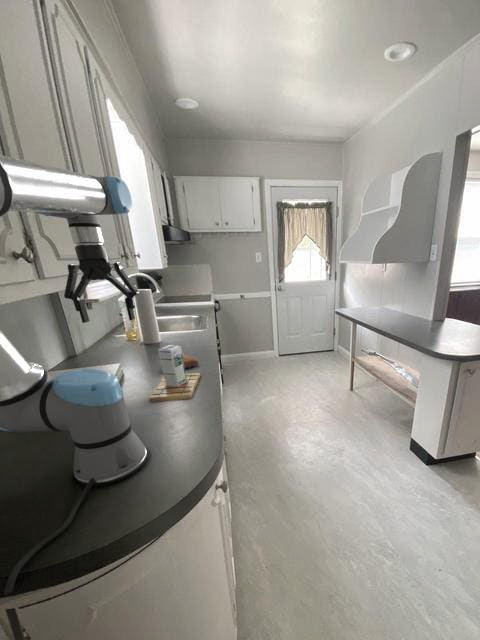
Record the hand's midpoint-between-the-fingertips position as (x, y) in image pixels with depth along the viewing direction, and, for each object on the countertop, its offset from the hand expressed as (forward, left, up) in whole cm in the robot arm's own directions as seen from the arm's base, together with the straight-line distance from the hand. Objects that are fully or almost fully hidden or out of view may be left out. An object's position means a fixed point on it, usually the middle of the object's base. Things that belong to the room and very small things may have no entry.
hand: (109, 320), depth 93 cm
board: (+12, -13, -29) cm, 34 cm away
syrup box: (+12, -13, -27) cm, 32 cm away
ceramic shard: (+37, -7, -29) cm, 47 cm away
